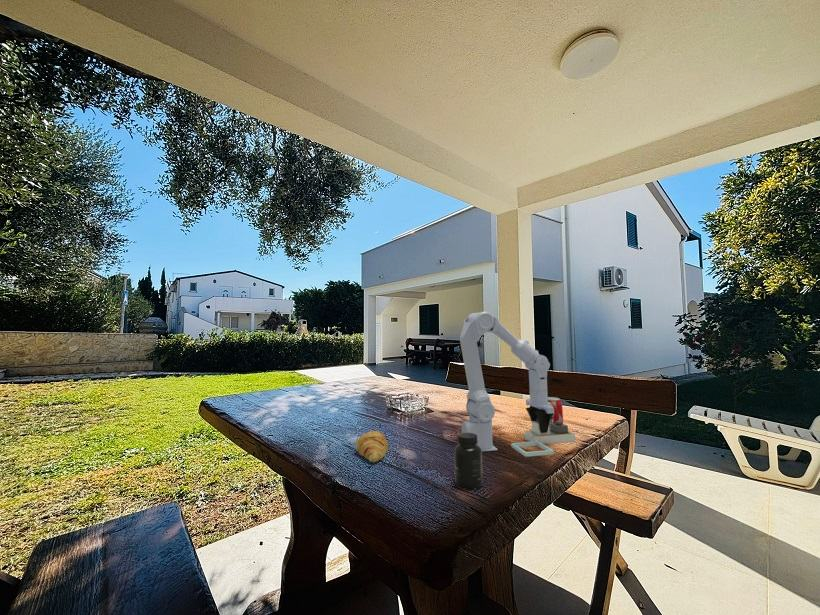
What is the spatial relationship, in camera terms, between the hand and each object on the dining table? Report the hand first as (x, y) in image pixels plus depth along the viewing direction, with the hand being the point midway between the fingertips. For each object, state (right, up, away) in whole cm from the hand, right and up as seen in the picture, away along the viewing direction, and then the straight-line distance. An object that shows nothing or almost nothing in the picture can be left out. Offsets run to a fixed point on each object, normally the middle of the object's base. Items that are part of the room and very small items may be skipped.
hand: (540, 430), depth 121 cm
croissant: (-56, -5, -7) cm, 57 cm away
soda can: (+9, -5, +13) cm, 16 cm away
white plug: (0, -2, 0) cm, 2 cm away
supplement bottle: (-29, -3, -32) cm, 43 cm away
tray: (-6, -3, -10) cm, 12 cm away
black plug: (+7, -3, +1) cm, 8 cm away
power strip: (+3, -4, 0) cm, 5 cm away
